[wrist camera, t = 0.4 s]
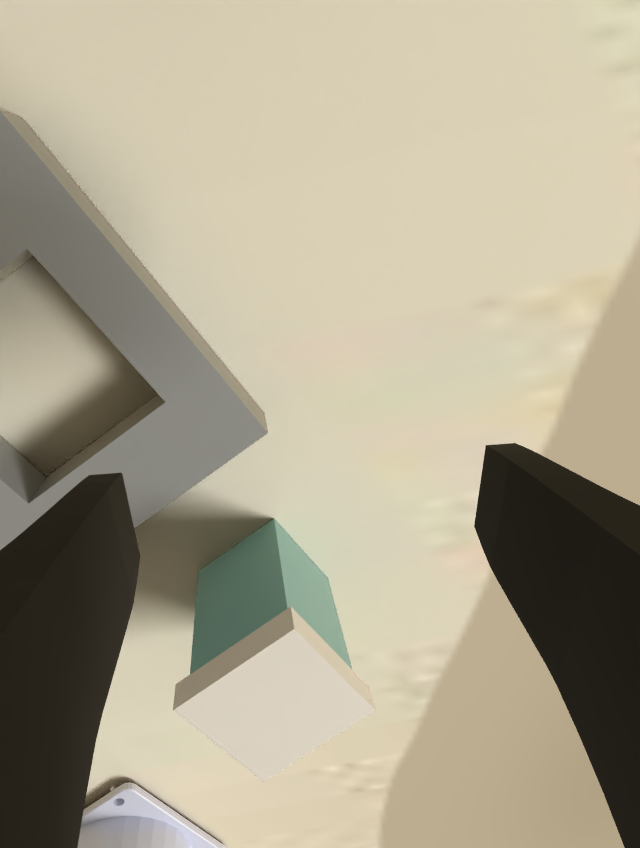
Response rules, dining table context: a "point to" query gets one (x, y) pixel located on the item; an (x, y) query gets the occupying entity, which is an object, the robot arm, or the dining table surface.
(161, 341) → the socket plate
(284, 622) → the plug
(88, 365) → the dining table surface
